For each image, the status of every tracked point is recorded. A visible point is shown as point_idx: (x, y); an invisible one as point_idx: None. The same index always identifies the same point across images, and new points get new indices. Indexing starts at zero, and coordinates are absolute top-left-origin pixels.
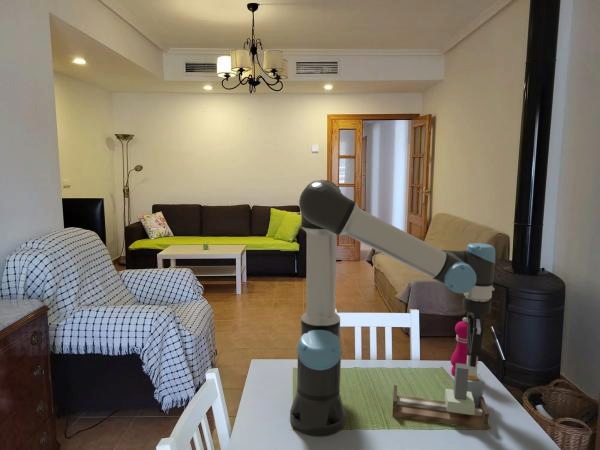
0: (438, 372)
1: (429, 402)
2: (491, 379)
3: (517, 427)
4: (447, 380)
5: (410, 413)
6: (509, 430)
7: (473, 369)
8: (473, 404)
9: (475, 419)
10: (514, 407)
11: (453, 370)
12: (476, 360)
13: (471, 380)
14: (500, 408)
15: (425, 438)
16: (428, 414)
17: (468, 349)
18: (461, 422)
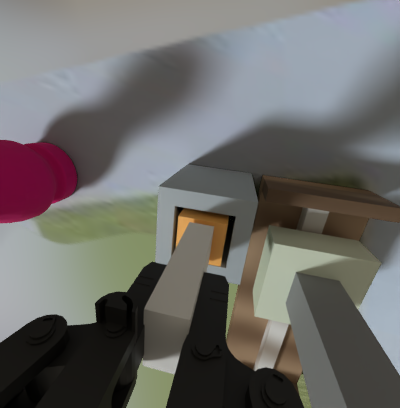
0: (64, 231)
1: (272, 327)
2: (47, 74)
3: (364, 80)
4: (101, 220)
5: None
6: (380, 118)
7: (207, 261)
8: (376, 267)
9: (345, 225)
10: (227, 44)
11: (53, 202)
12: (197, 291)
13: (232, 245)
14: (239, 104)
15: (389, 344)
16: None
17: (130, 393)
18: None
